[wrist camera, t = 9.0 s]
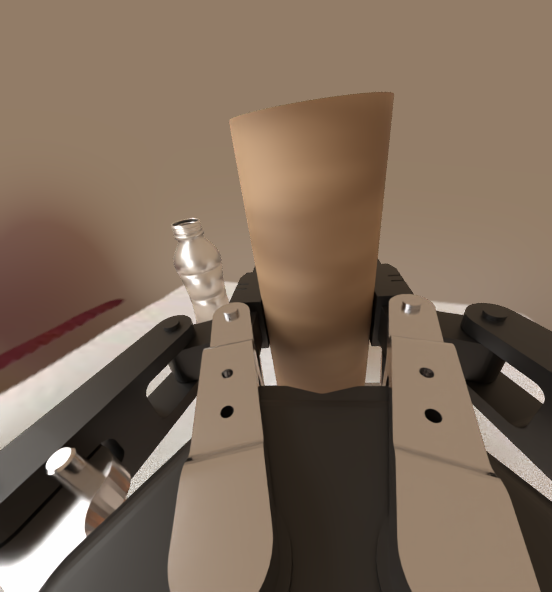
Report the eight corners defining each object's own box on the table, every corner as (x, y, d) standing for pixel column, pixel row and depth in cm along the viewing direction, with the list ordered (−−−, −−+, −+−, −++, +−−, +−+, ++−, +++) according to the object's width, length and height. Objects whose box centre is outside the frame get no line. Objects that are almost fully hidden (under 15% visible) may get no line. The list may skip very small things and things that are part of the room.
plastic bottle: (206, 327, 46) (168, 218, 35) (242, 323, 46) (215, 212, 35) (197, 352, 41) (149, 233, 30) (238, 348, 40) (204, 226, 30)
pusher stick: (282, 462, 12) (206, 117, 5) (287, 392, 16) (246, 125, 8) (367, 466, 12) (424, 81, 4) (353, 393, 15) (371, 105, 8)
